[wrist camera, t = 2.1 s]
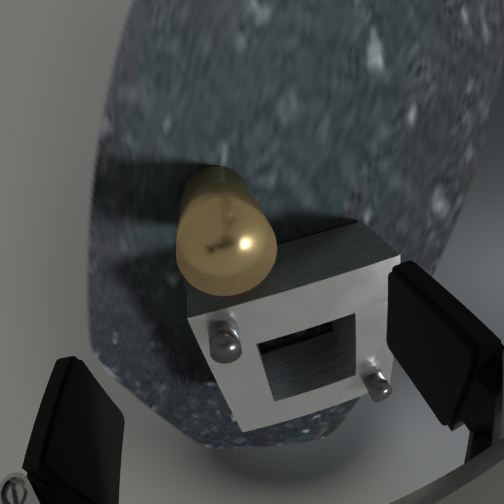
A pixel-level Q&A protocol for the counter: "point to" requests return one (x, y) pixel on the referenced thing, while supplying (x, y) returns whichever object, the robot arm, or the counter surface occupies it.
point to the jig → (302, 328)
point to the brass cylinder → (223, 234)
